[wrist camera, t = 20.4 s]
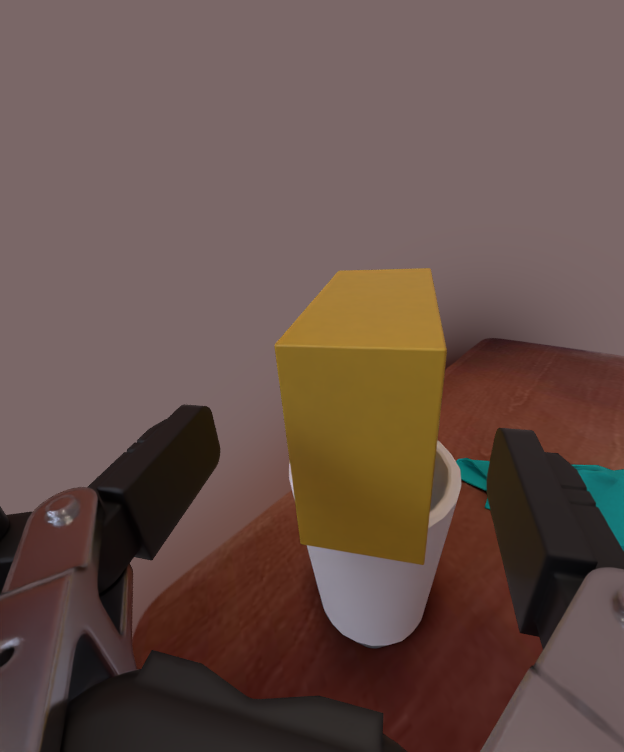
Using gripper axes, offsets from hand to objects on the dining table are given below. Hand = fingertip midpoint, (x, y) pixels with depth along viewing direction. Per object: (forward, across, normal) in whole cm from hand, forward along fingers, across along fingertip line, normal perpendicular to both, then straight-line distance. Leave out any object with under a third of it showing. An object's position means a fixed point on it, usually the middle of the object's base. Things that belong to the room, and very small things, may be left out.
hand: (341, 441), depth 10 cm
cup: (+8, 0, -21) cm, 23 cm away
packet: (+8, 0, -8) cm, 12 cm away
